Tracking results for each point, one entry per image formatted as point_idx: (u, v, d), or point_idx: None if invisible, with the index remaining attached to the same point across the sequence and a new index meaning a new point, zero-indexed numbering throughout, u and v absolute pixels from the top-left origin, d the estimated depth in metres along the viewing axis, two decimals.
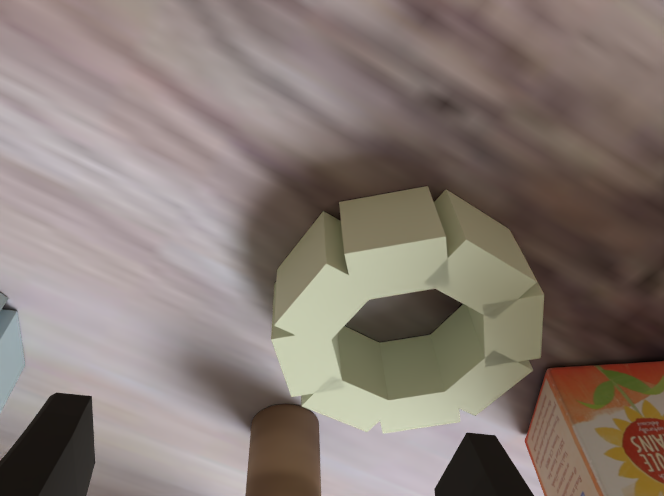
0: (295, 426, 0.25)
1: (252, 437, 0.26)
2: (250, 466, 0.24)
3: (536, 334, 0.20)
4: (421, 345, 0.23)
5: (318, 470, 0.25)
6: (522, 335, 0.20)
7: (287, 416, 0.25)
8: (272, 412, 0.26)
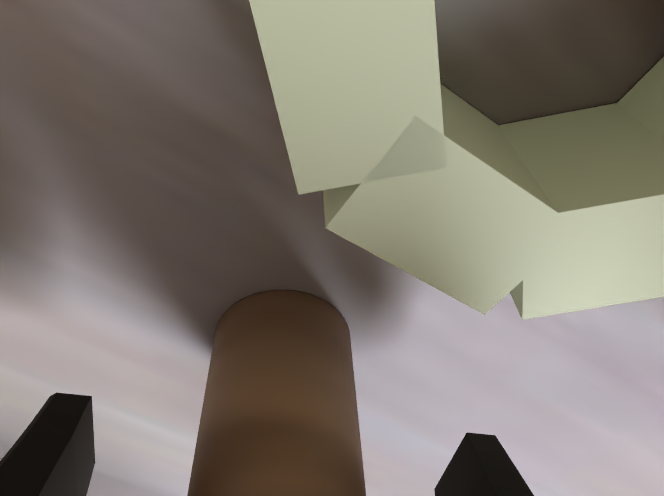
0: (304, 329, 0.12)
1: (213, 356, 0.12)
2: (204, 412, 0.11)
3: None
4: (603, 119, 0.10)
5: (356, 421, 0.11)
6: None
7: (287, 311, 0.12)
8: (254, 305, 0.12)
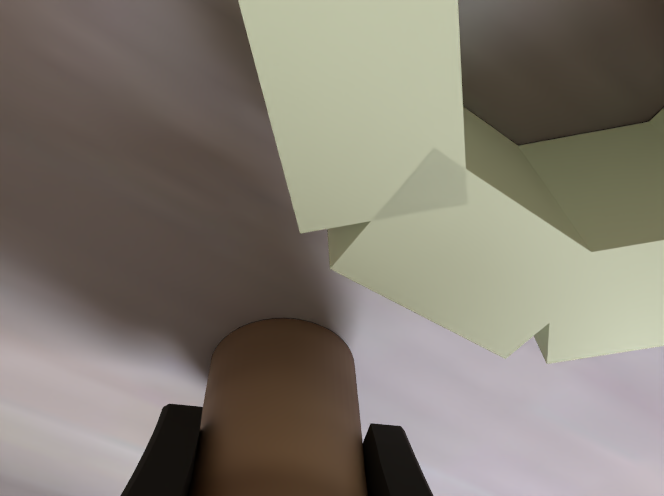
0: (306, 363, 0.11)
1: (208, 390, 0.11)
2: (198, 455, 0.10)
3: None
4: (634, 140, 0.09)
5: (362, 465, 0.10)
6: None
7: (287, 342, 0.11)
8: (253, 335, 0.11)
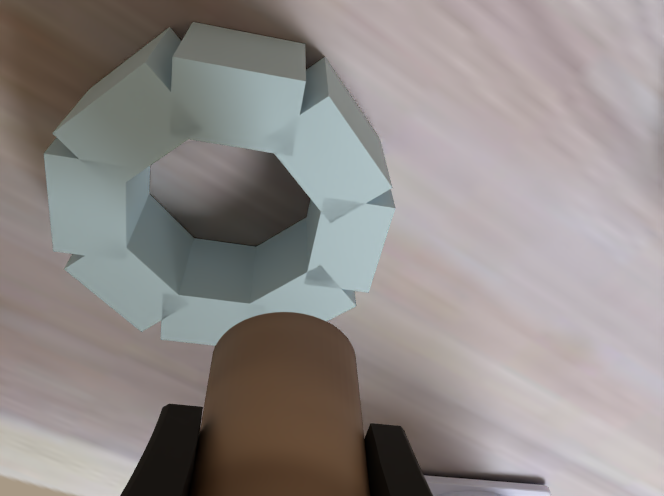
0: (304, 355, 0.11)
1: (209, 385, 0.11)
2: (199, 449, 0.10)
3: None
4: None
5: (362, 455, 0.10)
6: None
7: (286, 335, 0.11)
8: (251, 329, 0.11)
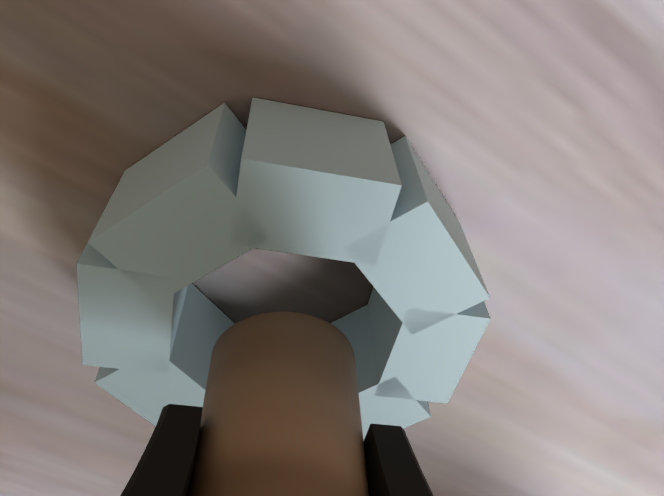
0: (303, 355, 0.11)
1: (207, 385, 0.11)
2: (197, 448, 0.10)
3: None
4: None
5: (361, 454, 0.10)
6: None
7: (284, 334, 0.11)
8: (250, 329, 0.11)
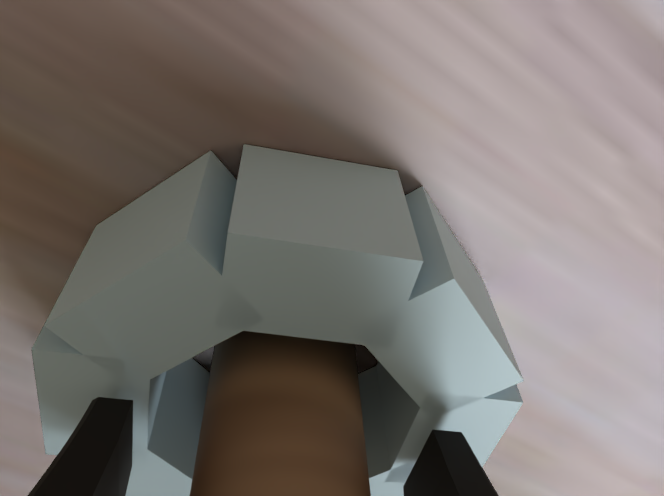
0: None
1: None
2: (209, 387, 0.11)
3: None
4: None
5: (357, 393, 0.11)
6: None
7: None
8: None
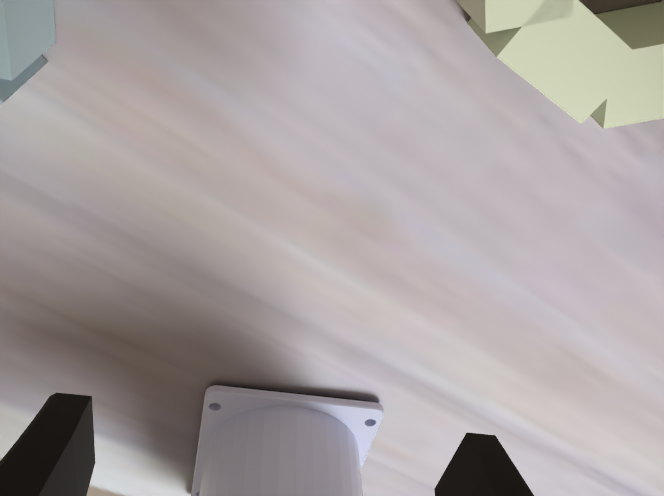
0: None
1: None
2: None
3: None
4: (652, 9, 0.16)
5: None
6: None
7: None
8: None
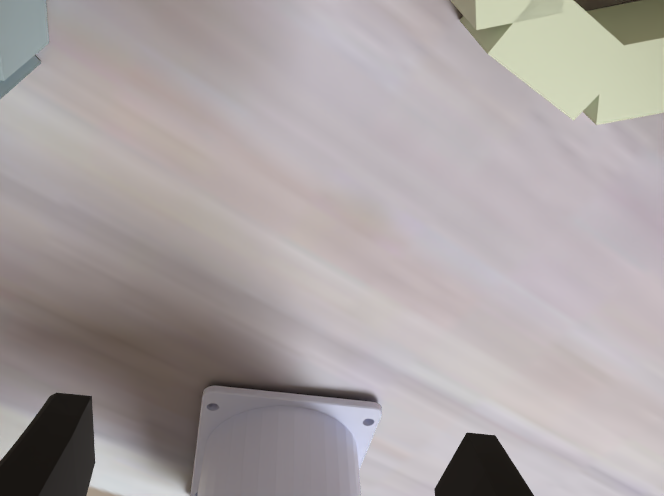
0: None
1: None
2: None
3: None
4: (644, 5, 0.16)
5: None
6: None
7: None
8: None
